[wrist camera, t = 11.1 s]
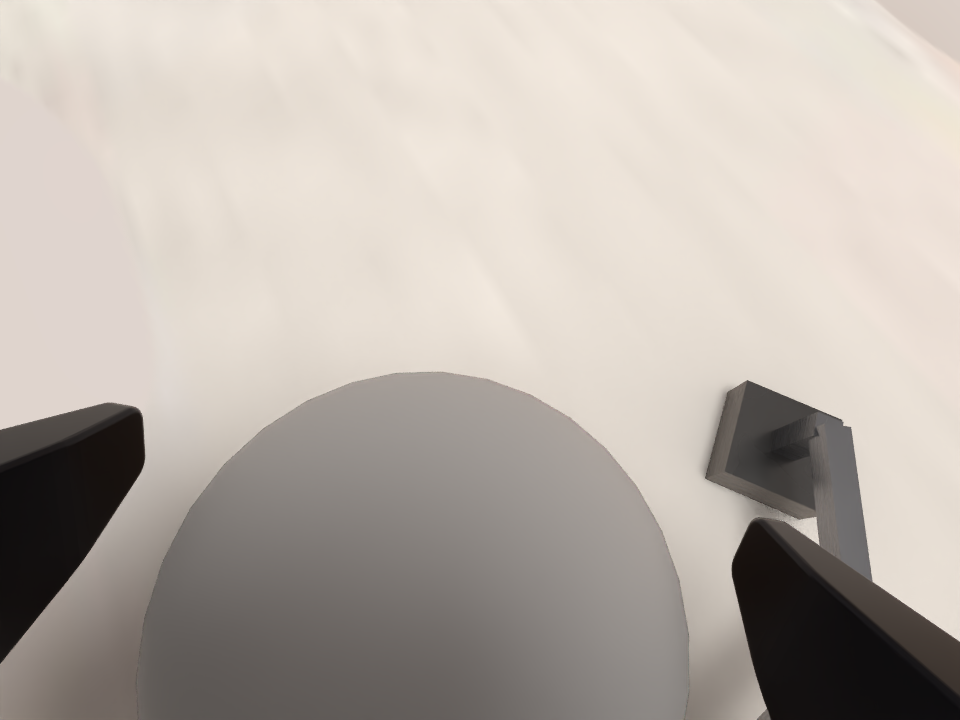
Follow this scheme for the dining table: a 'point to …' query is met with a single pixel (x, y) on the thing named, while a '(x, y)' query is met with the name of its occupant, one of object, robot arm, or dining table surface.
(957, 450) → the dining table surface
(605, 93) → the dining table surface
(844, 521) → the grey metal bracket
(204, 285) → the dining table surface
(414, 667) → the lightbulb
